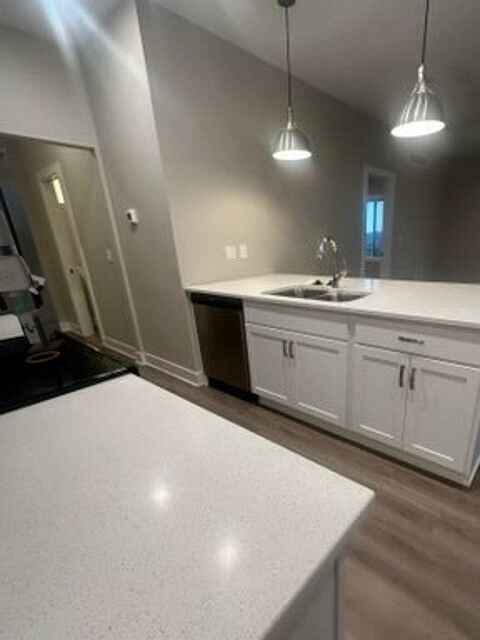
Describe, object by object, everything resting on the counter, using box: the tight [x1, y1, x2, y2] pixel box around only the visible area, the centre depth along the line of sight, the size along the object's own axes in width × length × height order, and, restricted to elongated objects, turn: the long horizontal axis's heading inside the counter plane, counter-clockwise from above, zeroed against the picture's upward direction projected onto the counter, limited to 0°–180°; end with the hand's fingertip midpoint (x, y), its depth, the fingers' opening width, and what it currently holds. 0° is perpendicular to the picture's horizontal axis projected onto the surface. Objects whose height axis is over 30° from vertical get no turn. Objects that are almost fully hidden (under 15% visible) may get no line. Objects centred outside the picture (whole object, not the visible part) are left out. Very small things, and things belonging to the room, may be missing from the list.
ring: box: [24, 350, 61, 364], centre depth 114 cm, size 9×9×1 cm
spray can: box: [8, 290, 33, 337], centre depth 138 cm, size 6×6×20 cm
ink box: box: [19, 307, 58, 345], centre depth 131 cm, size 9×5×12 cm, turn 178°
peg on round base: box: [26, 317, 65, 354], centre depth 122 cm, size 9×9×12 cm
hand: (22, 308), depth 110 cm, fingers open, 9 cm apart
